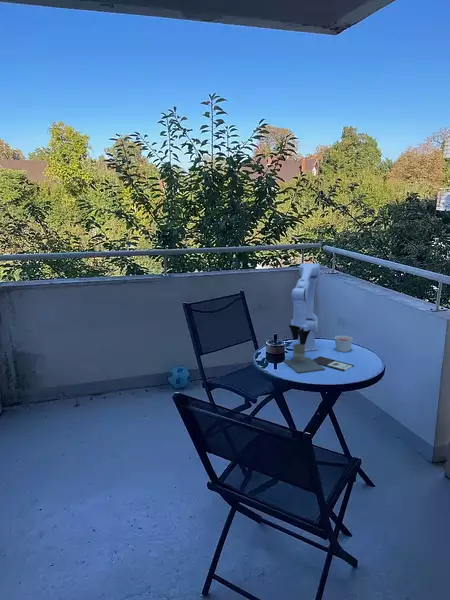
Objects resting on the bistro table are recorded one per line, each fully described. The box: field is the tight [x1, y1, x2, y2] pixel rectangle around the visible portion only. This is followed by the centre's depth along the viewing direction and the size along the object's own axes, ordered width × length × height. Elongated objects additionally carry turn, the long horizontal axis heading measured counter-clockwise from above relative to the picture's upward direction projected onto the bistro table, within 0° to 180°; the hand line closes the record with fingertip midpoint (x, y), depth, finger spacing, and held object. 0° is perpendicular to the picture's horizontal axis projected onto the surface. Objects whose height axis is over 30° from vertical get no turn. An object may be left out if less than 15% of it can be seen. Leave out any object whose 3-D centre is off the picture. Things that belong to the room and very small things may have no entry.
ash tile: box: [292, 343, 306, 362], centre depth 195 cm, size 2×5×8 cm, turn 106°
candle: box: [334, 335, 354, 353], centre depth 212 cm, size 9×9×6 cm
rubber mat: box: [283, 357, 326, 374], centre depth 192 cm, size 16×13×1 cm
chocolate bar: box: [312, 355, 355, 372], centre depth 193 cm, size 9×1×18 cm
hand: (299, 342), depth 194 cm, fingers open, 7 cm apart
